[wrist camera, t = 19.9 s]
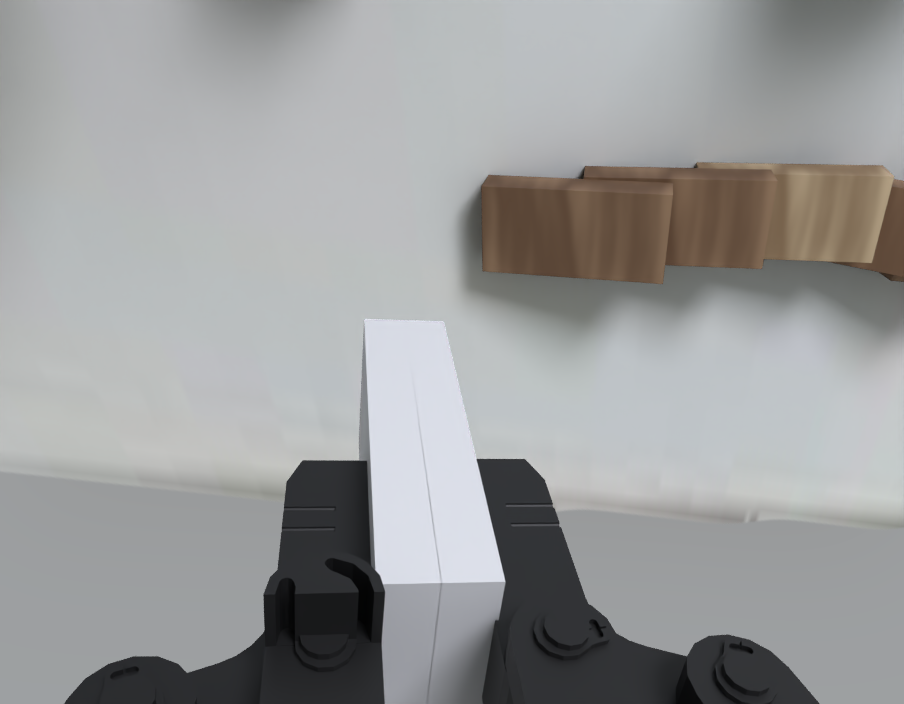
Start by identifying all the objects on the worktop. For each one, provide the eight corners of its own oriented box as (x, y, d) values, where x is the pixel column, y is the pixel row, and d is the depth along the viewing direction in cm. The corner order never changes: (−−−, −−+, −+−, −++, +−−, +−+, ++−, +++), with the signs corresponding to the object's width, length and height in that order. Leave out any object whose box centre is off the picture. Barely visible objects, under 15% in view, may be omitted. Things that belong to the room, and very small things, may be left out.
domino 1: (482, 271, 44) (662, 283, 42) (481, 186, 42) (673, 195, 40) (489, 257, 46) (663, 269, 44) (488, 175, 44) (673, 182, 41)
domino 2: (579, 261, 45) (761, 268, 43) (583, 177, 42) (777, 181, 41) (581, 248, 47) (756, 254, 45) (585, 166, 44) (771, 169, 42)
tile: (689, 256, 46) (871, 263, 44) (700, 172, 43) (894, 176, 41) (686, 243, 47) (861, 249, 46) (696, 162, 45) (882, 165, 43)
